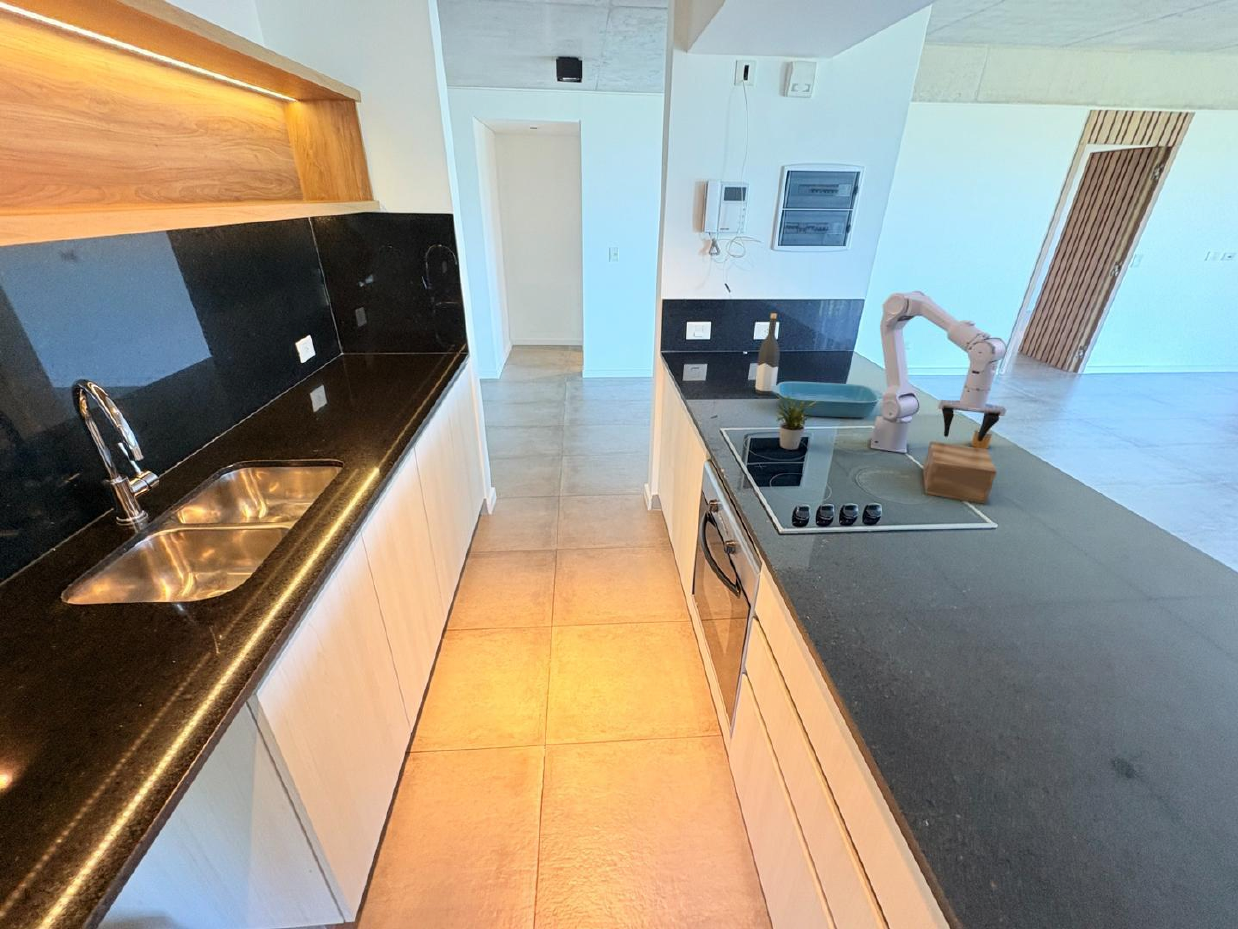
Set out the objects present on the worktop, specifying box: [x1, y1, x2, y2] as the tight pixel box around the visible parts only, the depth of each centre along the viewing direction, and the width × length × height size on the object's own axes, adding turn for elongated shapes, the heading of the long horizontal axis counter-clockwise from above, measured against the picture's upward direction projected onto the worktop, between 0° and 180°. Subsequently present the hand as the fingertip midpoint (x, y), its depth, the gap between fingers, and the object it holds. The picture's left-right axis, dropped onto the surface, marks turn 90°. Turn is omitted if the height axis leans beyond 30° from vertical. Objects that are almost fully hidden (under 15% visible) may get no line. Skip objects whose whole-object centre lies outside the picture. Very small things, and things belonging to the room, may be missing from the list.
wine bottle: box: [754, 312, 781, 396], centre depth 202 cm, size 8×8×30 cm
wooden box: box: [922, 441, 997, 505], centre depth 132 cm, size 15×13×9 cm
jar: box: [970, 427, 994, 449], centre depth 157 cm, size 5×5×5 cm
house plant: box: [772, 393, 818, 450], centre depth 155 cm, size 14×14×16 cm
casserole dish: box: [772, 381, 883, 419], centre depth 187 cm, size 37×22×7 cm, turn 78°
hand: (962, 437), depth 138 cm, fingers open, 7 cm apart
